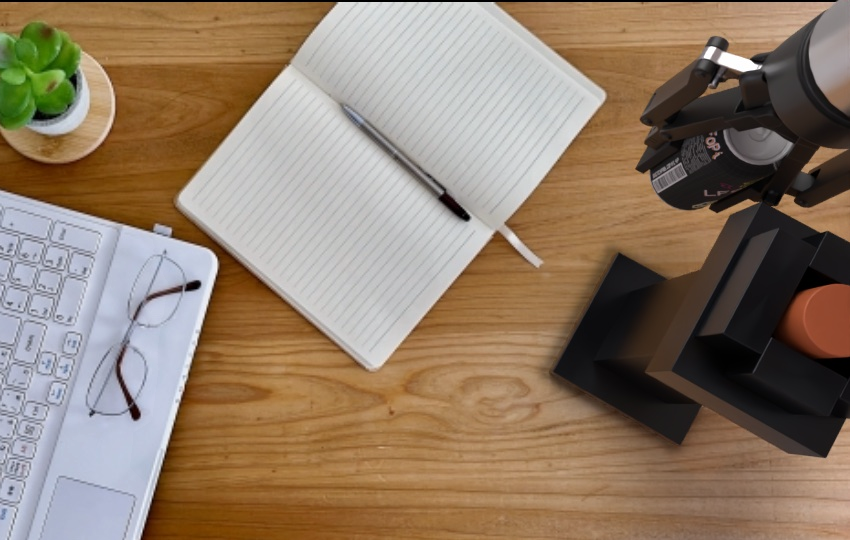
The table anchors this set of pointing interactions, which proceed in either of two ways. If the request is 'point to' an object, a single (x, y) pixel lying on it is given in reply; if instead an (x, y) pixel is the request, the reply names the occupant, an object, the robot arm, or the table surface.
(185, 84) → the table surface
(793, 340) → the button
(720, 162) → the beverage can
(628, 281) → the button post
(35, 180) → the table surface
